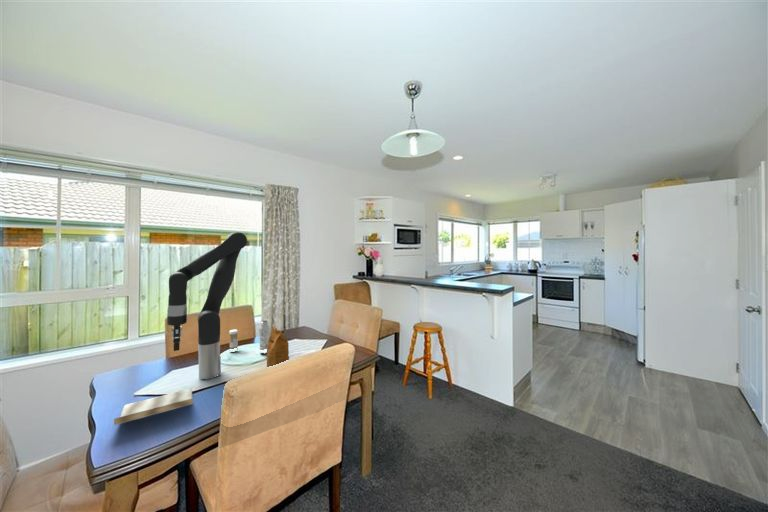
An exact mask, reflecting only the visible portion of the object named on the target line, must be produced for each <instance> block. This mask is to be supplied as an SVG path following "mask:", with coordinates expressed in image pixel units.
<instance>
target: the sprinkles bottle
mask: <svg viewBox="0 0 768 512" xmlns="http://www.w3.org/2000/svg"><path fill="white" fill-rule="evenodd" d="M238 331H239V330H238V329H231V330H229V333H228V334H229V350H230V349H234V348H237V349H238V341H239V340H238V333H239V332H238Z"/></svg>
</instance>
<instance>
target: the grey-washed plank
mask: <svg viewBox="0 0 768 512" xmlns="http://www.w3.org/2000/svg"><path fill="white" fill-rule="evenodd" d="M192 391H193V390H192V388H189V389H188V388H187V389H185V390H180V391H179V390H178V391H176V392H172V393H168V394H163V395H159V396H156V397H152V398H147V399H144V400H140V401H134V402H131V403H126V404H124V406H123V408H122V411H121V413H120V417H123V416H127V415H131V414H134V413H138V412H142V411H146V410H150V409H154V408H157V407H161V406H165V405H169V404H173V403H176V402H180V401H184V400H188V399H192V398H193V392H192Z"/></svg>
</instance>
